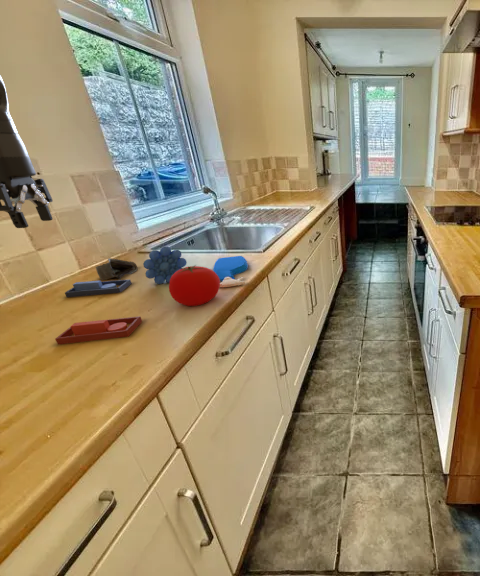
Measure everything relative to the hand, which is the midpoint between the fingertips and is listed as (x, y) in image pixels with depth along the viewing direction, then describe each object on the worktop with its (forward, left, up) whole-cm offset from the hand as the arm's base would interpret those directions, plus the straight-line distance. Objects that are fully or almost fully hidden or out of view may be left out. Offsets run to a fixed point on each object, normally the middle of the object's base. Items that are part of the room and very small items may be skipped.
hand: (35, 223), depth 81 cm
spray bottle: (+40, +11, -22) cm, 47 cm away
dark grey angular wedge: (+3, +20, -22) cm, 30 cm away
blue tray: (+5, +6, -22) cm, 23 cm away
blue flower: (+23, +9, -22) cm, 33 cm away
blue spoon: (+4, +6, -22) cm, 23 cm away
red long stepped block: (+19, -22, -22) cm, 36 cm away
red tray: (+19, -22, -22) cm, 36 cm away
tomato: (+36, -9, -22) cm, 43 cm away
